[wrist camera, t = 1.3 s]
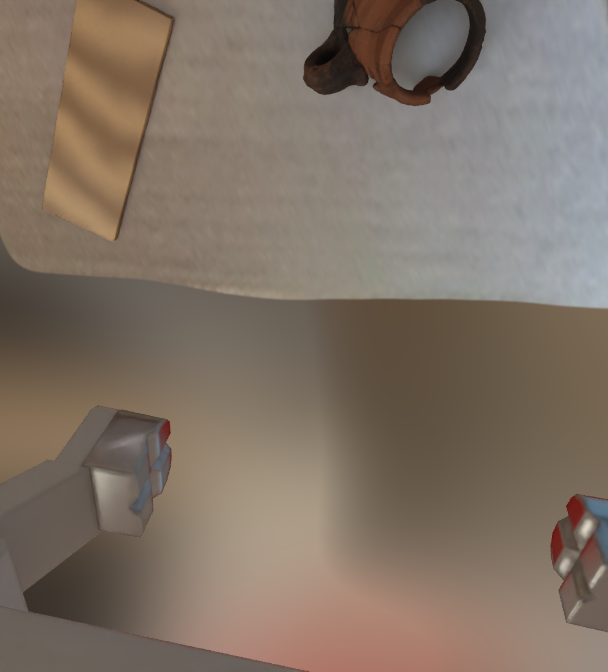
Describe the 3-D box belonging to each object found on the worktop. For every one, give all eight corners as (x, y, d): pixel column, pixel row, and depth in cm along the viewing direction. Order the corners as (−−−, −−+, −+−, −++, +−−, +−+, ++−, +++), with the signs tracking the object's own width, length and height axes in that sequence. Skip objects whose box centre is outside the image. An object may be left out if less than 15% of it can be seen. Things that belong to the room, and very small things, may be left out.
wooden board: (85, -28, 42) (81, -28, 41) (174, 18, 42) (171, 19, 42) (45, 206, 53) (41, 209, 52) (116, 239, 54) (113, 242, 53)
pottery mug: (414, -108, 36) (479, -71, 31) (455, 21, 44) (512, 68, 39) (261, 13, 39) (298, 65, 34) (323, 116, 46) (361, 172, 41)
